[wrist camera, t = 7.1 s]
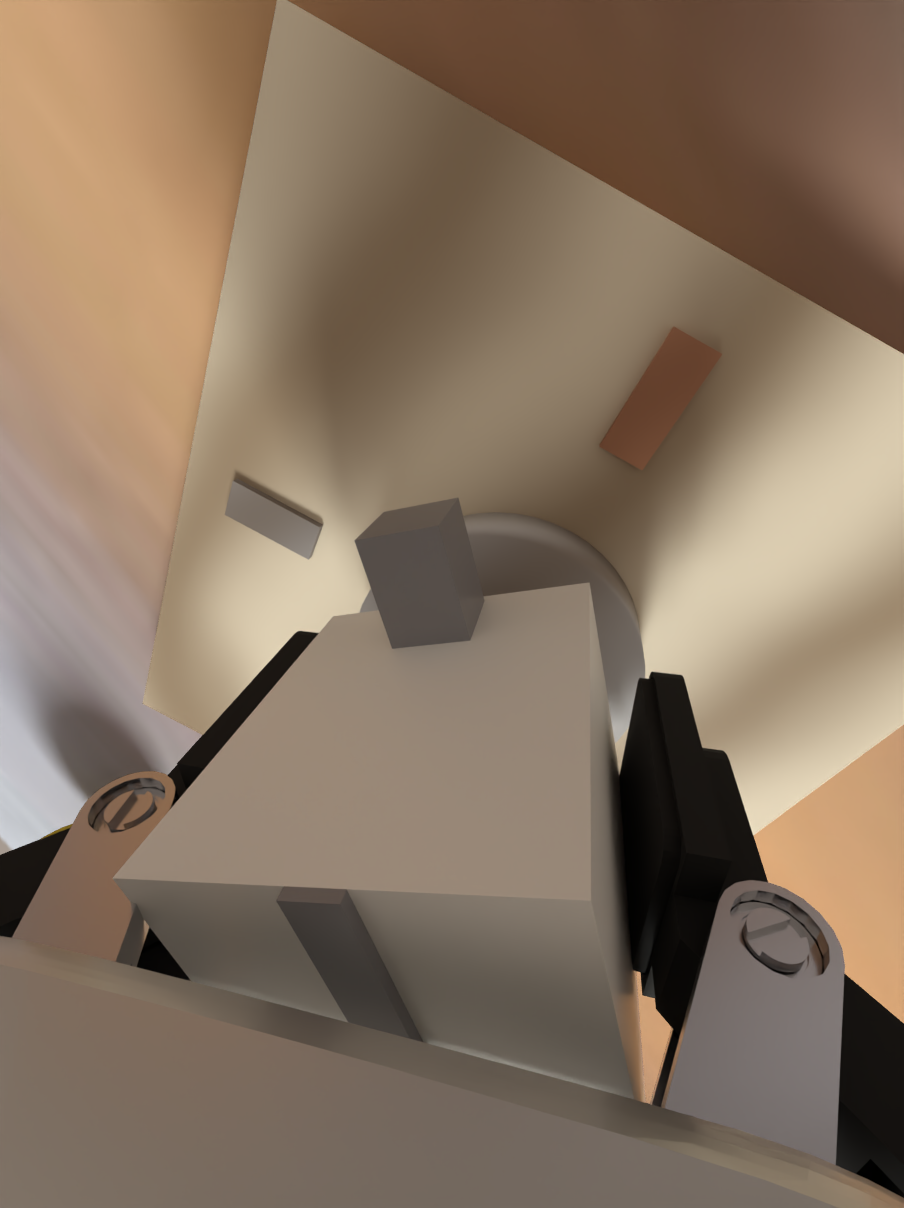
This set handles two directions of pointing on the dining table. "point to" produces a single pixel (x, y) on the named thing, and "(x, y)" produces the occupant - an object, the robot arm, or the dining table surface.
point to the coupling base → (534, 423)
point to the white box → (420, 825)
